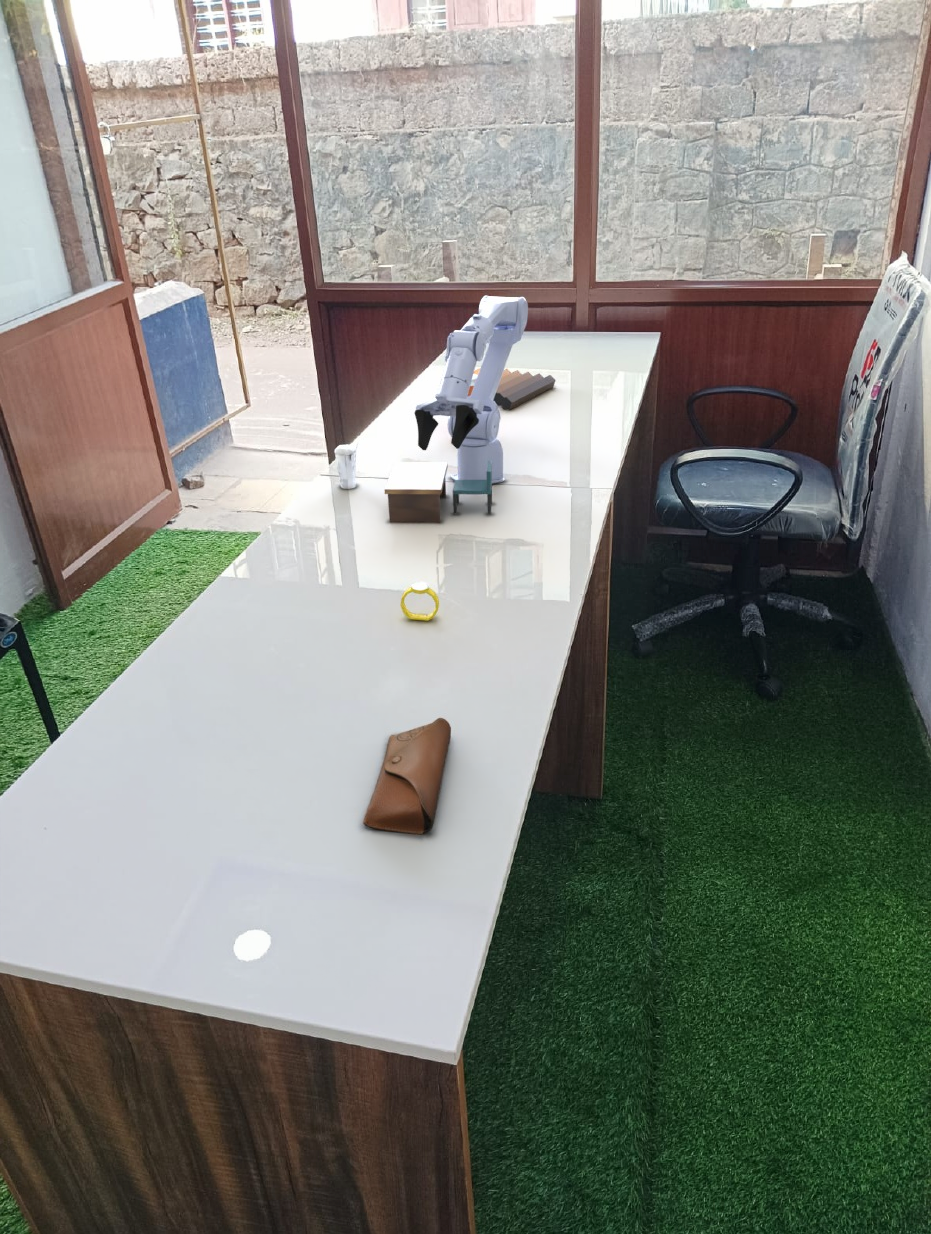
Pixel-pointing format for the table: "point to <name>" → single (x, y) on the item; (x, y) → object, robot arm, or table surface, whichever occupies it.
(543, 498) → the table surface
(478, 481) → the chair
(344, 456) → the milkshake
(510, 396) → the pan flute
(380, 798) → the sunglasses case
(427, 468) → the desk
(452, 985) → the table surface
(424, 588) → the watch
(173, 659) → the table surface
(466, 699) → the table surface
